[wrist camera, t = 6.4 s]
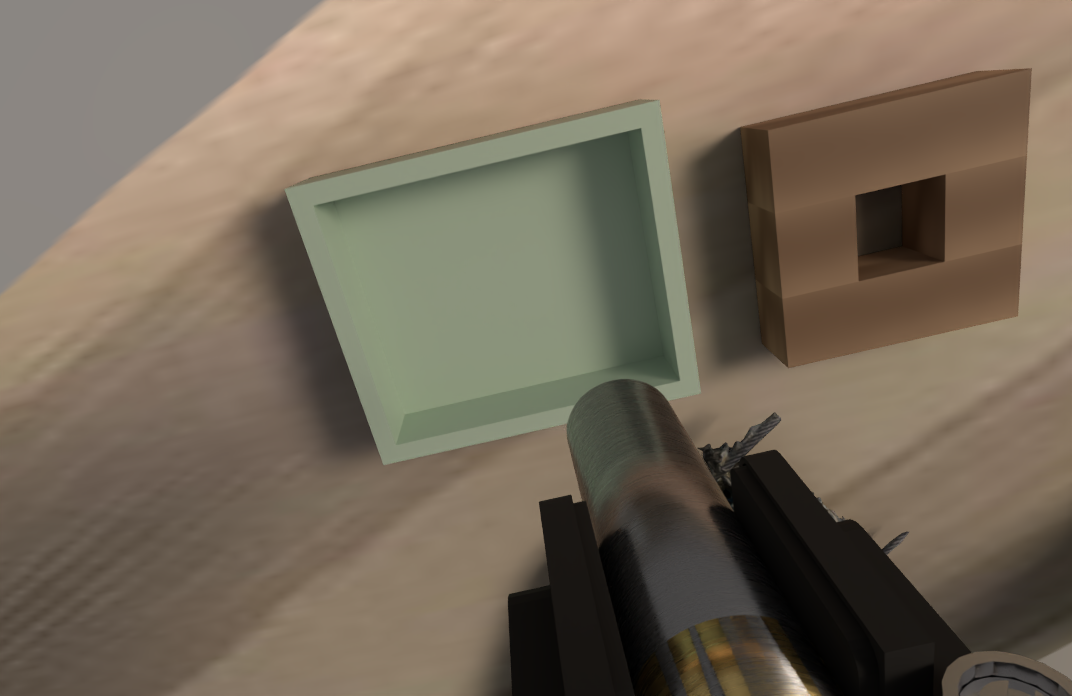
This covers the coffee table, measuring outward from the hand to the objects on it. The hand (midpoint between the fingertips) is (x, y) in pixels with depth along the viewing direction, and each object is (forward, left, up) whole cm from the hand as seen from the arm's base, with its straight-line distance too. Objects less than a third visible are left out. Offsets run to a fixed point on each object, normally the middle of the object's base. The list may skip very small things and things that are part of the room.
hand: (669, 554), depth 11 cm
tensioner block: (-1, -14, -20) cm, 24 cm away
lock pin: (0, 0, -4) cm, 4 cm away
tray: (0, +2, -20) cm, 20 cm away
